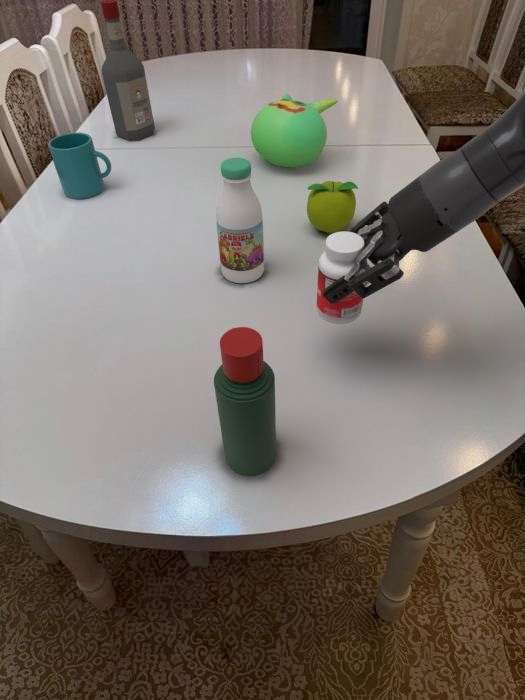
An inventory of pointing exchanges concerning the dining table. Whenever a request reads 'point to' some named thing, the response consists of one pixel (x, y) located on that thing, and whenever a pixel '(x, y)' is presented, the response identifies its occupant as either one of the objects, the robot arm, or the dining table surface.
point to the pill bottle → (339, 276)
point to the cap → (242, 354)
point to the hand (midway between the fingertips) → (328, 281)
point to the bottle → (247, 421)
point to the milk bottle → (239, 224)
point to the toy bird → (290, 131)
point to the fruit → (331, 205)
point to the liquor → (125, 82)
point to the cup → (78, 165)
